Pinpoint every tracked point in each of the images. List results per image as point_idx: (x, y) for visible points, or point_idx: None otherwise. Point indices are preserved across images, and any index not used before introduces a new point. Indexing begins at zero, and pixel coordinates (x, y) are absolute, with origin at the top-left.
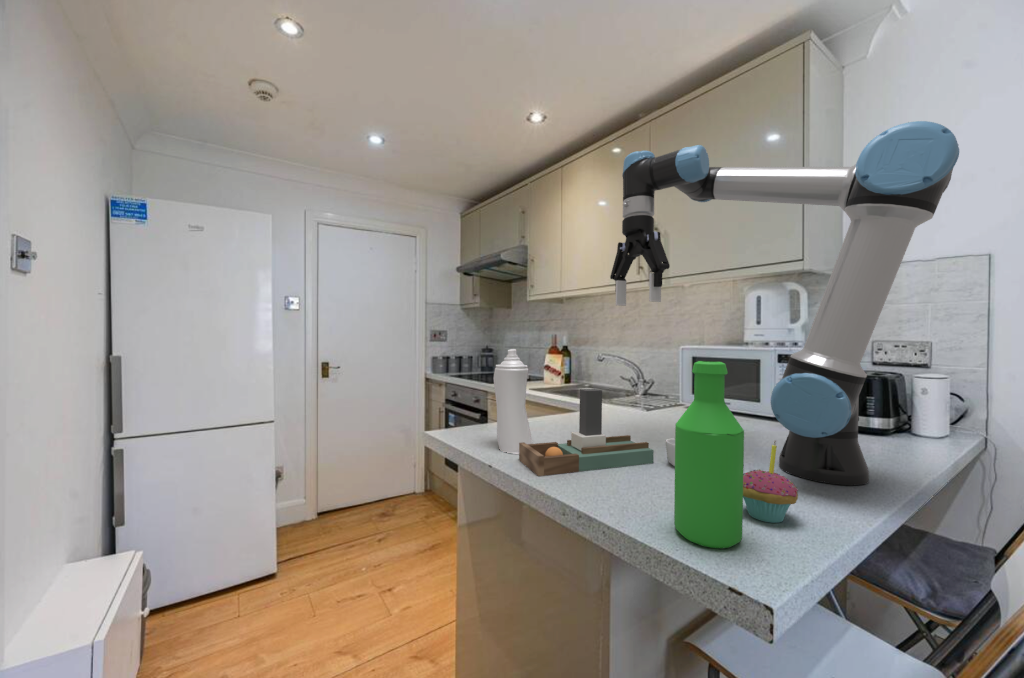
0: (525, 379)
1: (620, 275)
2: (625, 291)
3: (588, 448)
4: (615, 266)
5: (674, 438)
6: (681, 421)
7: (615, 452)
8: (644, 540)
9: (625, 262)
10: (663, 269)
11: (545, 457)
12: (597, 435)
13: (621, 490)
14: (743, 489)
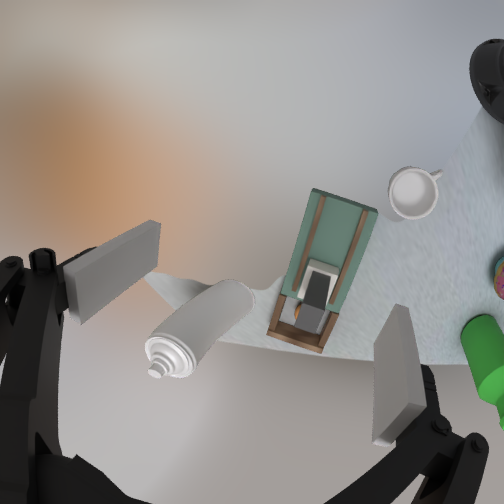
0: (196, 341)
1: (59, 326)
2: (118, 252)
3: (335, 298)
4: (3, 355)
5: (393, 183)
6: (484, 400)
7: (353, 265)
8: (449, 363)
9: (53, 410)
10: (454, 444)
11: (322, 344)
12: (330, 284)
13: None
14: (501, 298)
